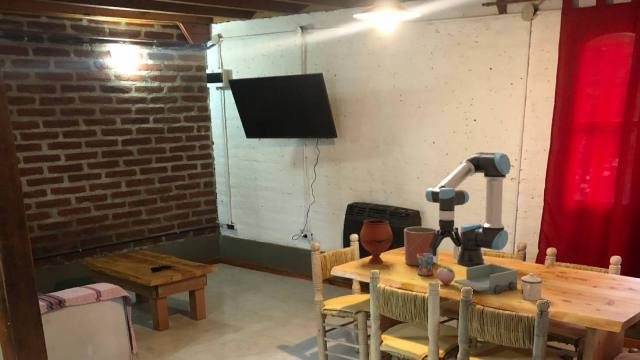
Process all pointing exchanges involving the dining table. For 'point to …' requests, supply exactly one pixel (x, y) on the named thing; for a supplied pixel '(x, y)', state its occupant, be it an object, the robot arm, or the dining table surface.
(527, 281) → the teacup with lid
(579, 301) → the dining table surface
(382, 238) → the goblet
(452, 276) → the decorative fruit
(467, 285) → the tailgate
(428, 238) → the planter
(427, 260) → the mug
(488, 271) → the truck bed
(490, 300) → the dining table surface
